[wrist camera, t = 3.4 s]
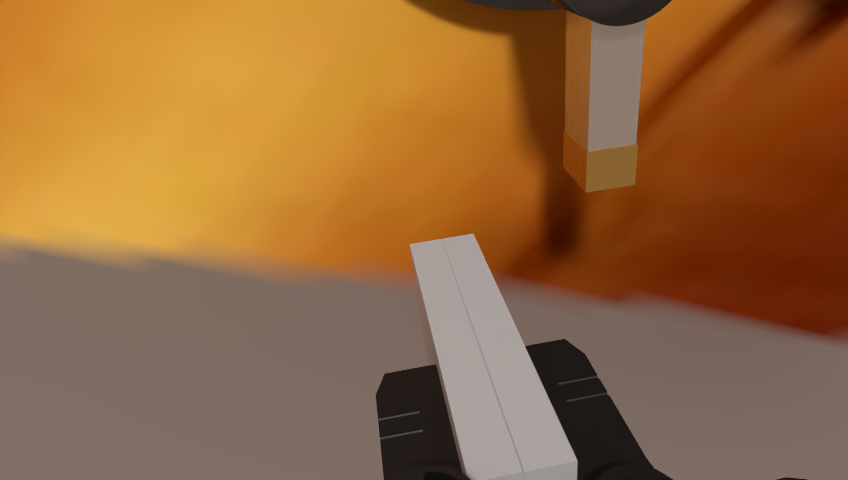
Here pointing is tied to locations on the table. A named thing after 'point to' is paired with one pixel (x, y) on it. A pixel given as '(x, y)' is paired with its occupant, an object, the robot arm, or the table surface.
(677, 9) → the table surface
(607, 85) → the screw
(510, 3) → the tribrach base
